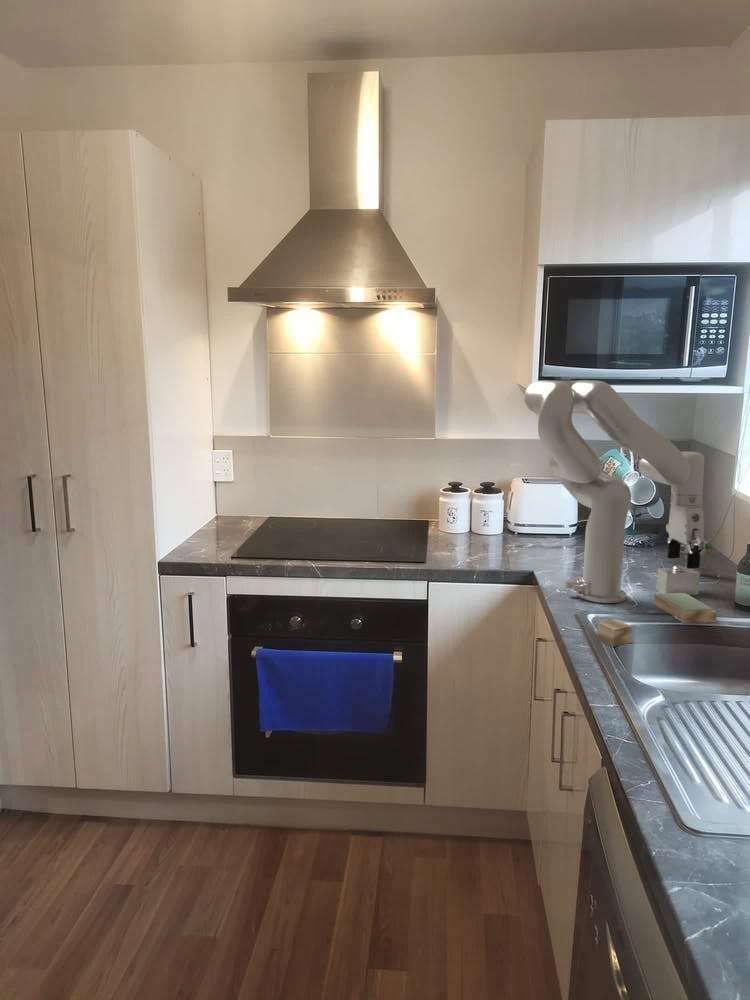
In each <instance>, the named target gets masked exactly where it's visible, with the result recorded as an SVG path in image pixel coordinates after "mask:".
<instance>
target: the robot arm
mask: <svg viewBox="0 0 750 1000" xmlns="http://www.w3.org/2000/svg"><path fill="white" fill-rule="evenodd" d="M524 403H525V405H526V408H528V410H529V411H531V412H533V413H534V414H536V415H537V414H538V415H539V416H538V423H537V429H538V430H537V433H538V438H539V440H540V442H541V444H542V445H543V447H544V449H546V451H547V452H548V453H549V456H548V466H549V468H550V471H551V472H552V475H554V477H555V478H556V479H557V480H558V482H559V483H560V484H561V485H562V486H563V487H564V488H565V489H566V490H567V491H568V493H569V494H570V495H571V496H572V497H573V499H574V500H576V501H577V502H578V503H579V504H581V505H583V506H584V507H586V508H590V509H591V510H590V514H589V516H588V519H587V522H586V527H585V540H584V553H583V567H582V569H583V570H582V571H583V572H582V574H583V575H582V576H578V579H576V580H574V581H573V580H564V583H563V587H564V589H572V590H573V591H575V595H576V596H577V597H578V598H581V600H582V599H583V600H585V601H589V602H594V603H598V604H599V603H601V604H616V603H622V602H624V601H625V600H627V593H626V592H625V590H623V589H622V575H623V562H624V550H625V549H624V548H625V534H626V533H625V532H626V523H627V518H628V513H629V510H630V506H631V502H632V493H631V490H630V487H629V485H628V484H627V483H626V482H625V481H624V480H622V479H621V478H619V477H617V476H614V475H611V474H606V473H603V472H602V470H603V465H602V461H601V459H600V456H599V454H598V453H596V452H595V450H594V449H593V448H592V447H591V446H590V445H589V443H587V441H586V440H585V439H584V437H582V436H581V434H580V433H579V432H578V430H577V429H576V427H575V426H574V424H573V418H572V417H573V414H584V415H585V414H586V415H588V416H589V418H590V419H592V420H593V421H594V423H595V424H596V425H597V426H598V427H599V428H600V429H601V430H602V431H603V432H604V433H605V434H606V435H607V436H608V437H609V439H611V441H612V442H613V443H615V444H616V445H618V446H619V447H620V448H623V449H625V450H627V451H628V452H631V453H633V454H635V455H637V456H638V457H640V458H641V459H640V461H639V464H638V470H639V472H640V474H641V476H643V477H644V478H645V479H647V480H650V481H652V482H656V483H661V484H664V485H668V486H671V487H670V488H671V489H670V509H669V517H668V523H667V524H666V525H665V530H666V534H665V535H666V537H667V541H666V543H667V558H668V559H679V558H680V557H681V556H680V555H681V552H680V549H681V546H680V543H681V544H685V545H687V548H688V551H689V553H687V568H688V569H691V568H692V569H699V568H700V564H701V556H700V554H701V552H702V549H703V545H704V543H705V541H706V539H705V538H704V536H705V522H704V521H705V520H704V519H705V518H704V510H703V495H704V494H703V490H704V476H705V473H704V472H705V471H704V470H705V456H704V454H703V453H701V452H698V451H697V452H696V451H681V450H679V448H678V447H677V446H676V445H675V444H674V443H673V442H672V441H670V440H669V439H668V438H667V437H666V436H665V435H663V434H662V433H660V432H659V431H658V430H656V429H655V428H654V427H652V426H651V425H650V424H649V423H647V422H645V421H644V420H643V419H642V418H641V417H640V416H639V415H638V414H637V413H636V412H635V411H634V410H633V409H632V407H631V406H630V405H629V404H628V403H626V401H625V400H624V399H623V398H622V396H621V395H620V394H619V392H617V391H616V390H615V389H614V388H613V387H612V386H611V385H610V384H608V383H607V382H605V381H601V380H591V379H590V380H589V379H588V380H587V379H586V380H585V379H583V380H582V379H580V380H550V379H549V380H544V379H543V380H541V379H540V380H537V381H534V382H532V383H531V384H530V385H529V386H528V387H527V388H526V390H525V392H524ZM690 541H693V542H690ZM691 545H695V546H694V547H693V548H692V546H691Z"/></svg>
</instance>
